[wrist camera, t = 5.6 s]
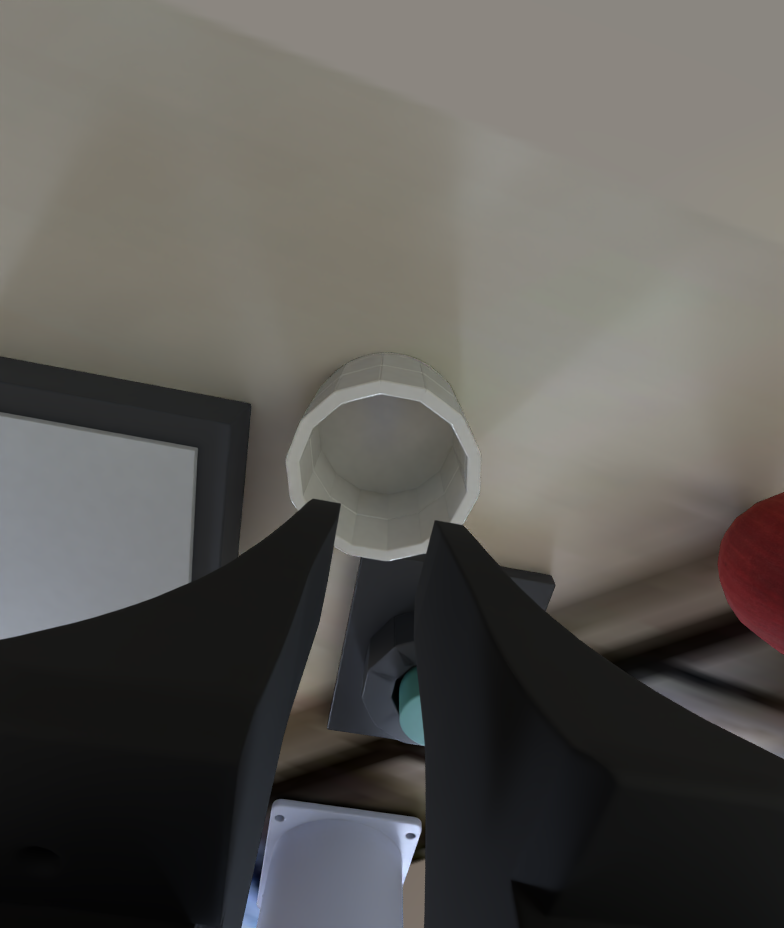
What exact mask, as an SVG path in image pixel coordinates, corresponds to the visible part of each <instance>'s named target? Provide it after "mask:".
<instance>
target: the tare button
mask: <svg viewBox="0 0 784 928" xmlns="http://www.w3.org/2000/svg"><path fill="white" fill-rule="evenodd" d="M399 721H400V725H401V728H402V730H403V732H404V733H405V734H406V735H407V736H408V737H409V738H410V739H411V740H413V741H414V742H416V743H418V744H421V745H424V746H425V744H424V731H423V721H422V712H421V703H420V693H419V684H418V675H417V666H415V667H413V668H412V669H410V670H409V671H408V672H407V673H406V674H405V675H404V677H403V678H402V680H401V683H400V686H399Z"/></svg>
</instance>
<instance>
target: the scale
mask: <svg viewBox="0 0 784 928" xmlns="http://www.w3.org/2000/svg"><path fill="white" fill-rule="evenodd" d="M250 416H251V404H249V403H245V402H239V401H234V400H229V399H223V398H218V397H213V396H207V395H202V394H197V393H191V392H186V391H181V390H176V389H170V388H165V387H160V386H154V385H149V384H144V383H138V382H133V381H128V380H122V379H117V378H112V377H106V376H101V375H96V374H90V373H85V372H80V371H74V370H69V369H64V368H59V367H53V366H48V365H43V364H37V363H32V362H27V361H21V360H16V359H11V358H5V357H0V640H1V639H6V638H11V637H16V636H20V635H24V634H29V633H33V632H37V631H41V630H45V629H50V628H54V627H58V626H62V625H67V624H71V623H75V622H79V621H83V620H86V619H90V618H93V617H97V616H100V615H103V614H107V613H110V612H113V611H116V610H120V609H123V608H126V607H129V606H132V605H135V604H138V603H140V602H143V601H146V600H149V599H152V598H154V597H157V596H159V595H162V594H164V593H166V592H169V591H171V590H173V589H176V588H178V587H181V586H183V585H185V584H188V583H190V582H192V581H195V580H197V579H199V578H201V577H203V576H205V575H207V574H209V573H211V572H213V571H215V570H217V569H219V568H221V567H223V566H224V565H226V564H228V563H229V562H231V561H233V560H234V559H236V558H237V557H238V549H239V538H240V527H241V515H242V504H243V493H244V482H245V471H246V460H247V449H248V438H249V427H250Z"/></svg>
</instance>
